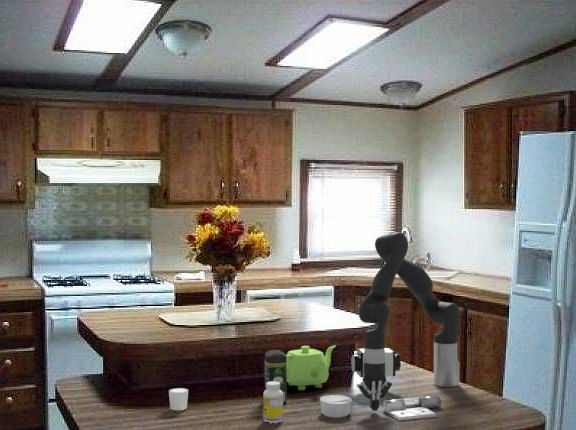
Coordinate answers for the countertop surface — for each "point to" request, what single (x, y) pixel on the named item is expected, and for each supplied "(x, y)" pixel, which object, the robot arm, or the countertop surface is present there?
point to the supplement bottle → (273, 403)
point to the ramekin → (335, 405)
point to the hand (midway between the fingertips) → (374, 410)
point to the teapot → (308, 367)
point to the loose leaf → (405, 410)
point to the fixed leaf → (422, 402)
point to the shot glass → (178, 398)
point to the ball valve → (390, 363)
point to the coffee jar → (276, 370)
